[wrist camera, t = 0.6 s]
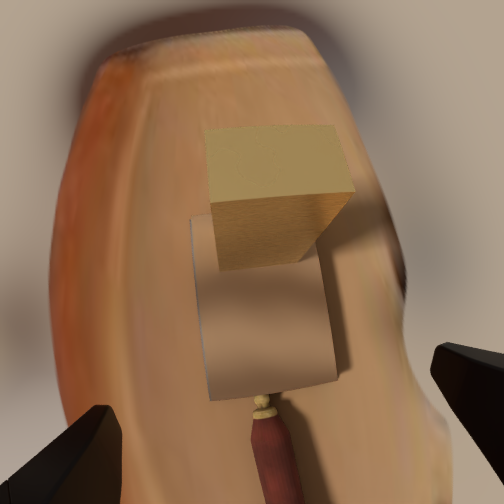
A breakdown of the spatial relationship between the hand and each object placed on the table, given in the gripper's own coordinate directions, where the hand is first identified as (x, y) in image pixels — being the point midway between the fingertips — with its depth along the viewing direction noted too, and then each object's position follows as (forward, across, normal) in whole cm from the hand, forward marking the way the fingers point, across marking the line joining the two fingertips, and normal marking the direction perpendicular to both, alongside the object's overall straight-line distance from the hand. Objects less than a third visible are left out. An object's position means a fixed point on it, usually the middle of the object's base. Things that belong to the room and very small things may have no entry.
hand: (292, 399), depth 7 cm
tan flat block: (+13, -2, +3) cm, 14 cm away
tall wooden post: (+14, -2, -1) cm, 14 cm away
